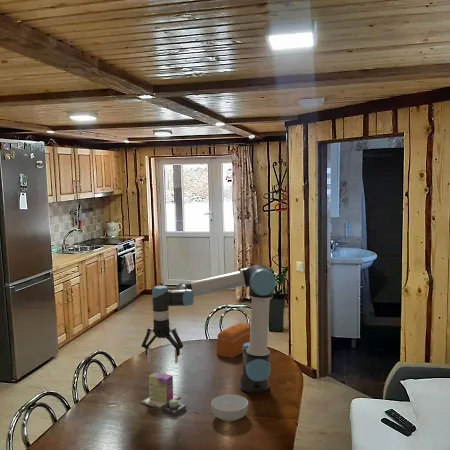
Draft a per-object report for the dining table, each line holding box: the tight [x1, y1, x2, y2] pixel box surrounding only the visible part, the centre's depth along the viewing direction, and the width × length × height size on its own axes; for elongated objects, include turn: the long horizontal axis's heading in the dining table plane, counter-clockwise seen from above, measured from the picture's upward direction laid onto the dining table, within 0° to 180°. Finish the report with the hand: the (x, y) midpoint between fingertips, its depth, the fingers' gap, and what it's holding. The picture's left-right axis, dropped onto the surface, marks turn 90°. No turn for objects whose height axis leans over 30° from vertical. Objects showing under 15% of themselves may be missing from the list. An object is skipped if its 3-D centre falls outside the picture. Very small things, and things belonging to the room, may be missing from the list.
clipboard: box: [140, 393, 182, 411], centre depth 236 cm, size 13×15×1 cm
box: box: [148, 372, 174, 403], centre depth 236 cm, size 10×6×12 cm, turn 63°
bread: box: [216, 322, 251, 359], centre depth 303 cm, size 14×26×16 cm, turn 143°
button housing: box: [161, 402, 187, 418], centre depth 225 cm, size 8×8×2 cm
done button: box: [169, 399, 179, 409], centre depth 224 cm, size 4×4×2 cm
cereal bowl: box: [210, 393, 249, 422], centre depth 218 cm, size 17×17×7 cm
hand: (162, 361), depth 232 cm, fingers open, 13 cm apart
